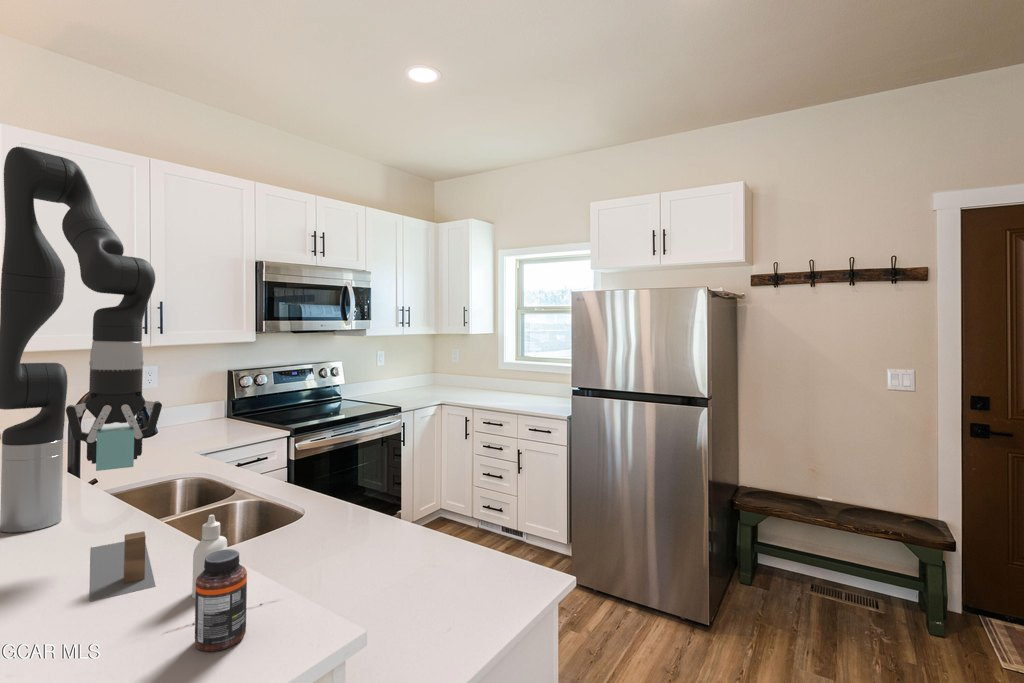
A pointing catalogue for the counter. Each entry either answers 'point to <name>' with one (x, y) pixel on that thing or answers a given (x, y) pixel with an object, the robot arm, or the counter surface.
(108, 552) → the mat
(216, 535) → the eye dropper bottle
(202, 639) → the supplement bottle
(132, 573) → the post
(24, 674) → the counter surface
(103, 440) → the teal rectangular block
